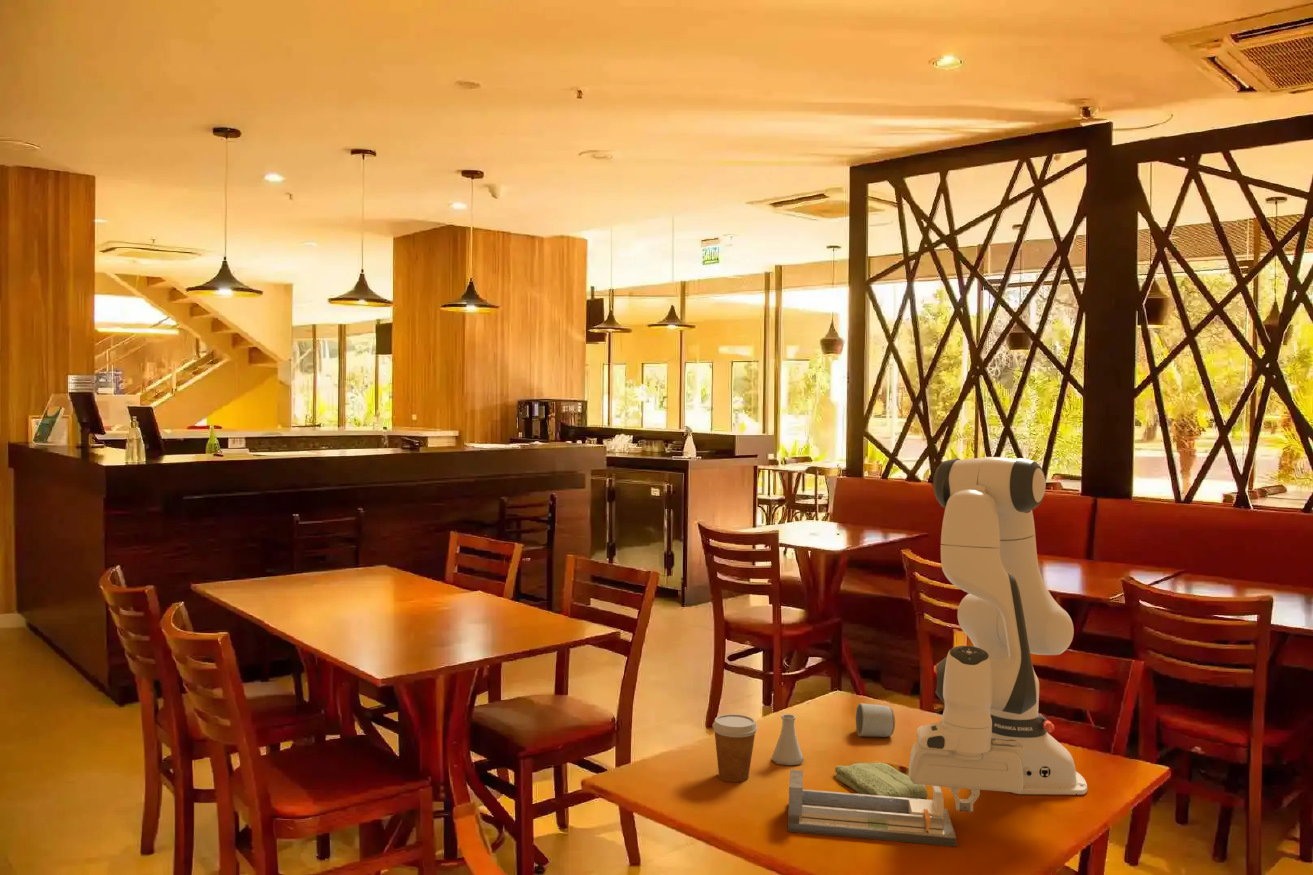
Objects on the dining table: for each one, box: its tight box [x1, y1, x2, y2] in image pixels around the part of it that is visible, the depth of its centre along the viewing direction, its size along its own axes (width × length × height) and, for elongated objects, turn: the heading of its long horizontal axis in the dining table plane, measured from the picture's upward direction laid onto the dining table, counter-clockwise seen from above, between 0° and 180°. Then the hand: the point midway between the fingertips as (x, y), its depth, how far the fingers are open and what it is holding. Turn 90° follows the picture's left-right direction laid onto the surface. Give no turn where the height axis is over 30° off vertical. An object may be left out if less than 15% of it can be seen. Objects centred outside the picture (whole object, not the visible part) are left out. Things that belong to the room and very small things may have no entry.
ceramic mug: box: [855, 702, 896, 738], centre depth 232 cm, size 11×8×8 cm
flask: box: [770, 713, 804, 766], centre depth 213 cm, size 7×7×10 cm
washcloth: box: [834, 762, 929, 799], centre depth 199 cm, size 13×18×3 cm
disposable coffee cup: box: [711, 713, 758, 783], centre depth 203 cm, size 10×10×12 cm
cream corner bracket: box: [908, 786, 945, 831], centre depth 177 cm, size 6×10×5 cm, turn 171°
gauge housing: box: [787, 769, 957, 848], centre depth 181 cm, size 30×13×8 cm, turn 81°
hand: (964, 810), depth 178 cm, fingers closed
